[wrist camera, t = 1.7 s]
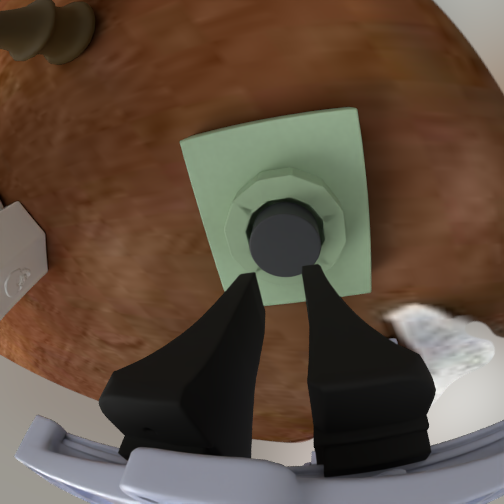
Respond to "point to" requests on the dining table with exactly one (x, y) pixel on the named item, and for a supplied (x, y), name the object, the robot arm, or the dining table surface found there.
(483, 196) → the dining table surface
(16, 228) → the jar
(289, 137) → the green button box
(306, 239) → the push button
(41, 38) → the kendama
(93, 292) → the dining table surface
